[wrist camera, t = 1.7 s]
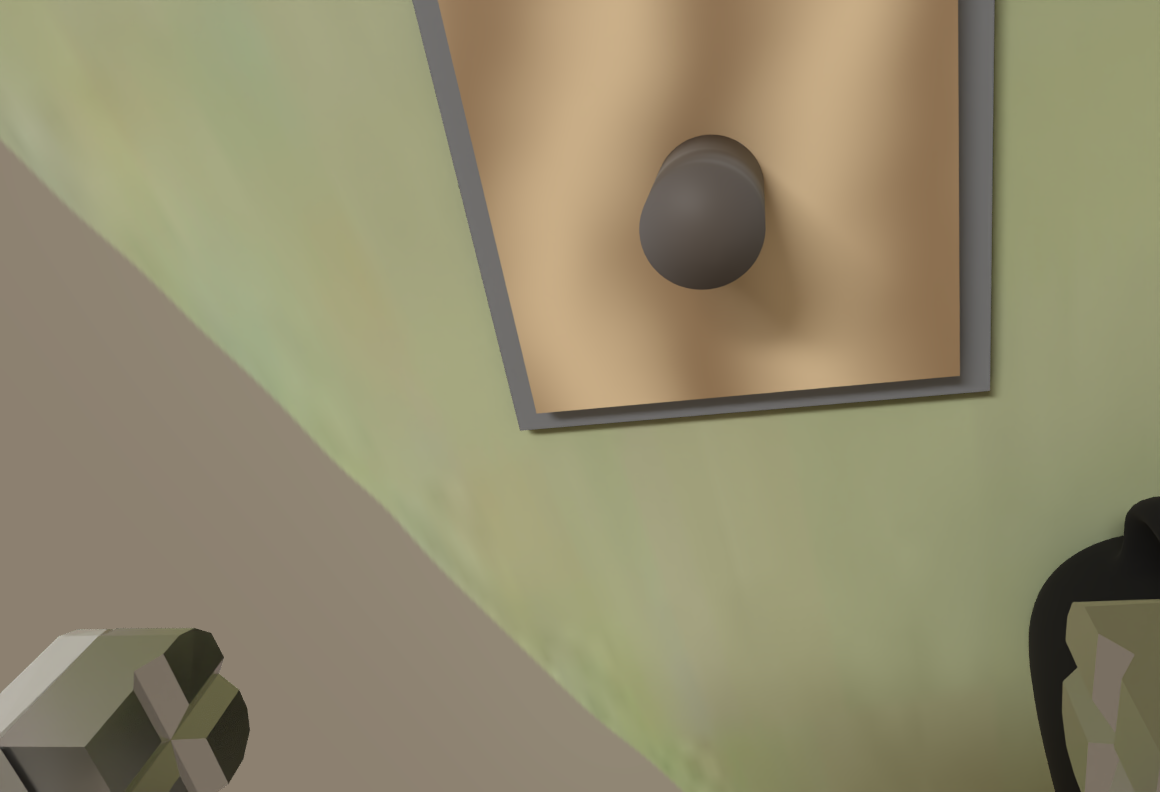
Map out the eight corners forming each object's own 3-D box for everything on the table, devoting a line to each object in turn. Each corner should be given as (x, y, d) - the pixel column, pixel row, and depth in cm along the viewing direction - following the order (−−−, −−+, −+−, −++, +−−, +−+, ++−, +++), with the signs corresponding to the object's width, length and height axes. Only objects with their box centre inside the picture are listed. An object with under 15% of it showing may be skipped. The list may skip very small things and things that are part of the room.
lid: (950, -130, 21) (1000, -149, 16) (954, 364, 26) (992, 444, 22) (443, -17, 24) (376, -9, 20) (542, 402, 29) (506, 478, 25)
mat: (991, -187, 20) (996, -190, 20) (986, 383, 27) (989, 391, 26) (406, -49, 24) (399, -49, 24) (523, 423, 30) (520, 430, 30)
